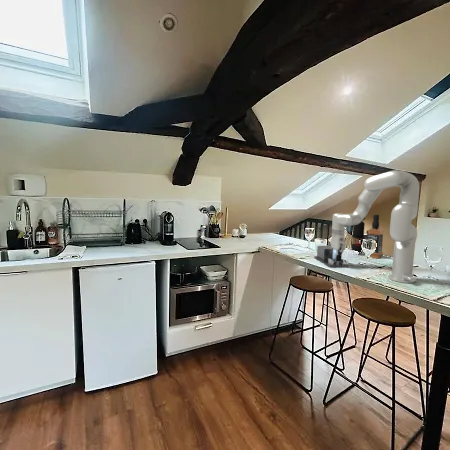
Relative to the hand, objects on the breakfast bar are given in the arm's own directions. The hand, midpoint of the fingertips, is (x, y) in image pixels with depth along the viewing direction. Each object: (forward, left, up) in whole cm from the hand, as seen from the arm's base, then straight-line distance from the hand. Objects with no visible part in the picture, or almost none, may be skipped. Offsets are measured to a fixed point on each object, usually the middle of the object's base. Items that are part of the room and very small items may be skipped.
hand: (336, 259), depth 181 cm
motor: (+11, 0, -4) cm, 11 cm away
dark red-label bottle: (+35, -33, -4) cm, 48 cm away
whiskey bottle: (+25, -41, -5) cm, 48 cm away
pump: (0, 0, -1) cm, 1 cm away
